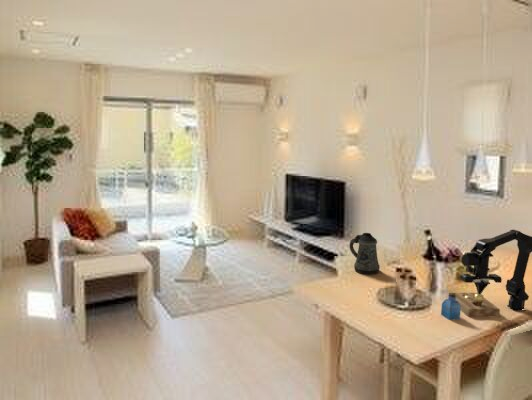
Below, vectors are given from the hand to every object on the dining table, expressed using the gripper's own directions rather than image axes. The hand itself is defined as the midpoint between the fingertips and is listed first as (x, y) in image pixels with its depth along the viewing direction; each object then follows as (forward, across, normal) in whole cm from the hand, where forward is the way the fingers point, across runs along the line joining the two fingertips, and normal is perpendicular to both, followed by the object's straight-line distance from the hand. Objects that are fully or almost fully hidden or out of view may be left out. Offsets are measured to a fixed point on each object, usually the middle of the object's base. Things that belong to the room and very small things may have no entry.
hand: (479, 294), depth 223 cm
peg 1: (+9, 0, -10) cm, 14 cm away
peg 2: (+4, 0, 0) cm, 4 cm away
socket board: (+9, 0, -5) cm, 11 cm away
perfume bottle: (+10, +17, +6) cm, 21 cm away
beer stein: (+10, +42, -65) cm, 78 cm away
